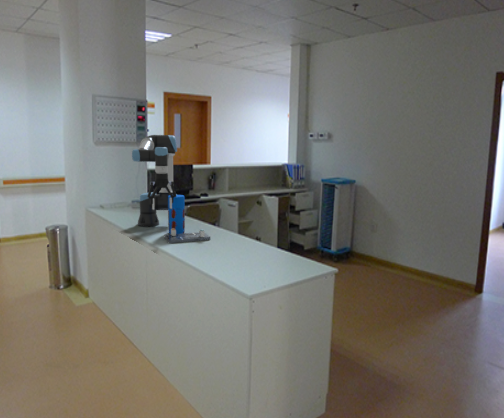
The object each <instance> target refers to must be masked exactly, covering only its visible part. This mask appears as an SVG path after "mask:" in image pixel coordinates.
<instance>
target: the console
mask: <svg viewBox="0 0 504 418" xmlns="http://www.w3.org/2000/svg"><path fill="white" fill-rule="evenodd" d="M163 237H164V239H165V241H167V243H168V244H179V243H180V244H182V243H191V242H205V241H211V236H210V235H209V234H207V233H206V232H205V237H200V236H199V231H198V232H197V231H196V232H188V233H185V232H184V233H183V234H176V236H172V235H171V234H164V235H163Z"/></svg>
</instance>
